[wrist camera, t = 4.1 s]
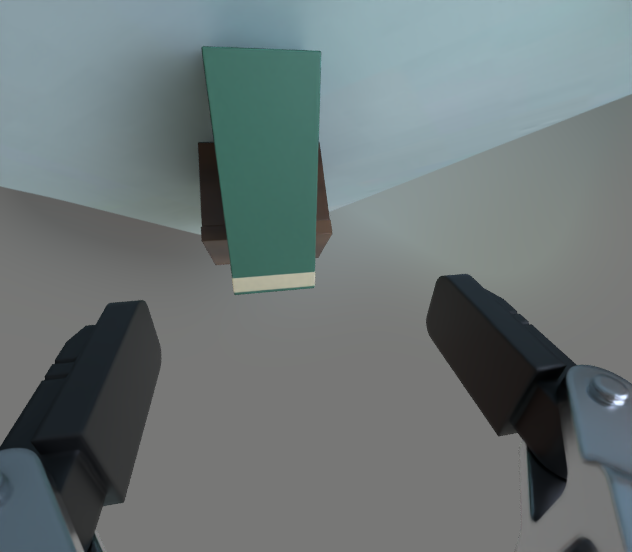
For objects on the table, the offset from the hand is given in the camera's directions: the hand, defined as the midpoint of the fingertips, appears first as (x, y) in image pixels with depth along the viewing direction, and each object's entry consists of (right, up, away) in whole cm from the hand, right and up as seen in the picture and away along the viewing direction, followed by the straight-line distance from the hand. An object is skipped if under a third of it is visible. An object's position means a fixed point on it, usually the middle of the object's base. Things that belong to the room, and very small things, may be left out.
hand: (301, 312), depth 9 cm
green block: (-3, +7, +12) cm, 14 cm away
